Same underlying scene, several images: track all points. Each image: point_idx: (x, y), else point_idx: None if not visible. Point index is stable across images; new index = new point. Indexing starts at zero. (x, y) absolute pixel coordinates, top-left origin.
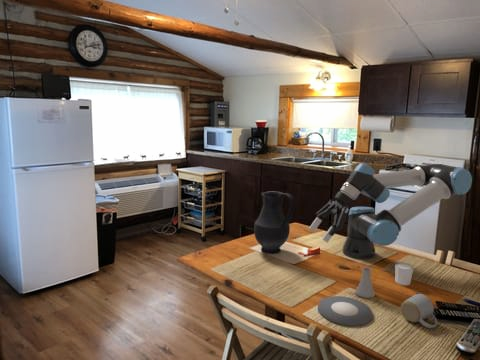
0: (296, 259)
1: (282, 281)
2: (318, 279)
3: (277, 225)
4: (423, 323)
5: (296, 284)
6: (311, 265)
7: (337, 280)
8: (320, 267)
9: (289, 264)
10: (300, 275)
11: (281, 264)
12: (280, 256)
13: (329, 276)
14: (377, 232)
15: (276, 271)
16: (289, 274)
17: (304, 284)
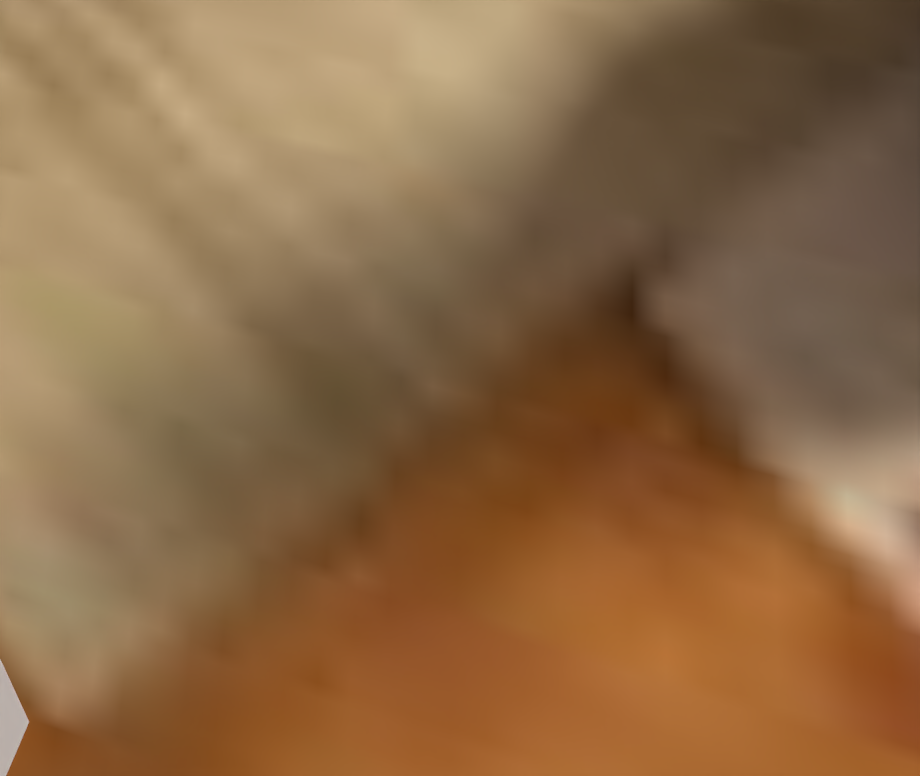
0: (798, 370)
1: (130, 46)
2: (135, 496)
3: None
4: None
5: (31, 185)
6: (587, 529)
7: (75, 754)
8: (515, 642)
9: (624, 236)
10: (275, 295)
11: (625, 135)
12: (897, 176)
13: (210, 679)
14: None
15: (413, 33)
16: (315, 167)
17: (18, 279)
